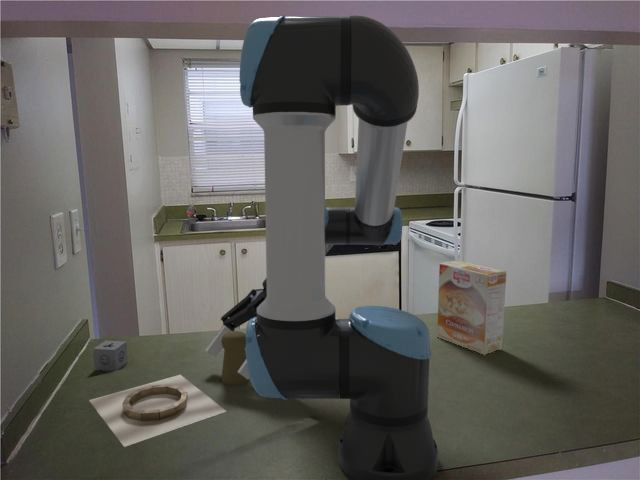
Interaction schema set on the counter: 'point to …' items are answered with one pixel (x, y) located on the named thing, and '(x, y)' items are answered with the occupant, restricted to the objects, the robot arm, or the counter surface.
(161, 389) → the collar
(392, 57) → the robot arm
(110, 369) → the dice cube
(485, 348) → the coffeecake box
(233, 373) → the cork
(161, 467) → the counter surface
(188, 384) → the board
